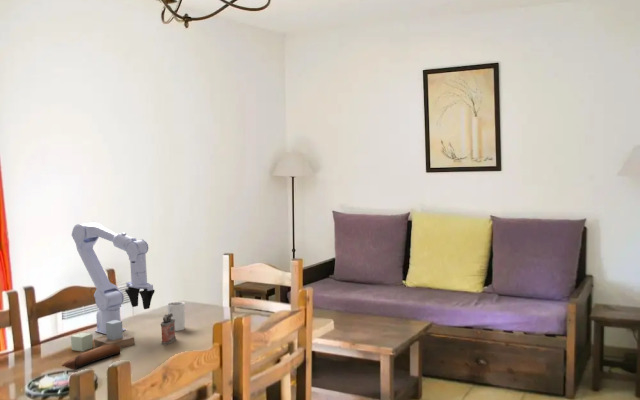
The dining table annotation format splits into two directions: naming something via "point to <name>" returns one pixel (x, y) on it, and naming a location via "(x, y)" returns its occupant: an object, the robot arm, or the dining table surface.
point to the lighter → (168, 329)
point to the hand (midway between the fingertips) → (140, 307)
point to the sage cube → (82, 341)
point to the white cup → (177, 314)
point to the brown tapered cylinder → (92, 356)
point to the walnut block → (115, 341)
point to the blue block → (114, 330)
